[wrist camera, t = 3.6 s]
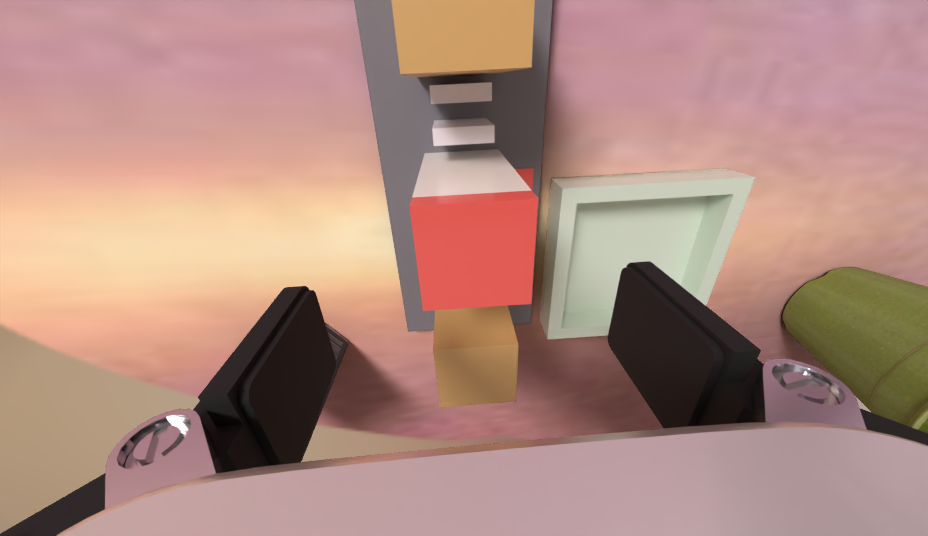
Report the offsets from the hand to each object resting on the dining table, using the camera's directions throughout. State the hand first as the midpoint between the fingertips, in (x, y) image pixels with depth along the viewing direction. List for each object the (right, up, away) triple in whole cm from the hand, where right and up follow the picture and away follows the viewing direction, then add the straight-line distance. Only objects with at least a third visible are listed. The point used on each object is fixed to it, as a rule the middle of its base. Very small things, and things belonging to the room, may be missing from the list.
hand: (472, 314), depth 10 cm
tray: (+12, +3, +15) cm, 19 cm away
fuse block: (0, +7, +12) cm, 14 cm away
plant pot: (+31, -1, +19) cm, 36 cm away
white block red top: (0, +7, +11) cm, 13 cm away
